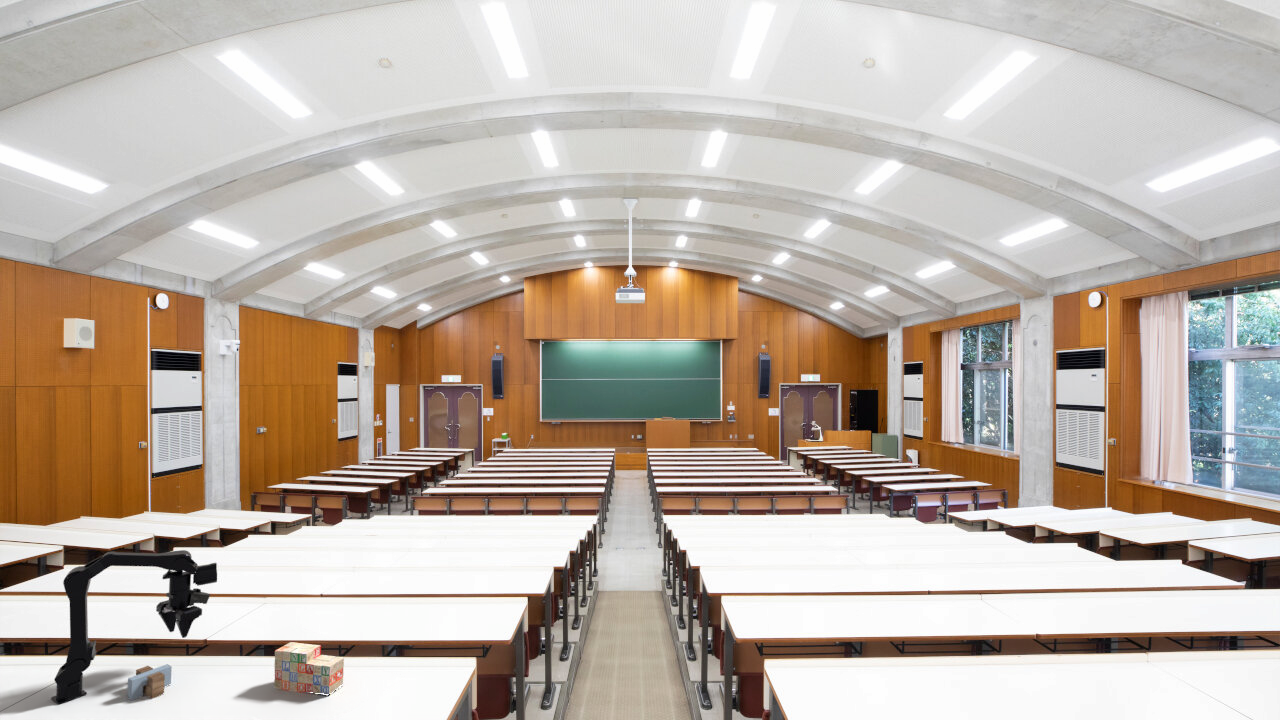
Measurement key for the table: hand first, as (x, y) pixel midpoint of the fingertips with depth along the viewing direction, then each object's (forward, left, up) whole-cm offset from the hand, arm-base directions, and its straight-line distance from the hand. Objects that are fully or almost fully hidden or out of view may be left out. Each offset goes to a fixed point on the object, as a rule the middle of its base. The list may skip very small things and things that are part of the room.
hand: (178, 634), depth 189 cm
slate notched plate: (+9, -10, -12) cm, 18 cm away
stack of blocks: (+51, +15, -12) cm, 55 cm away
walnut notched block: (+9, -10, -12) cm, 18 cm away
